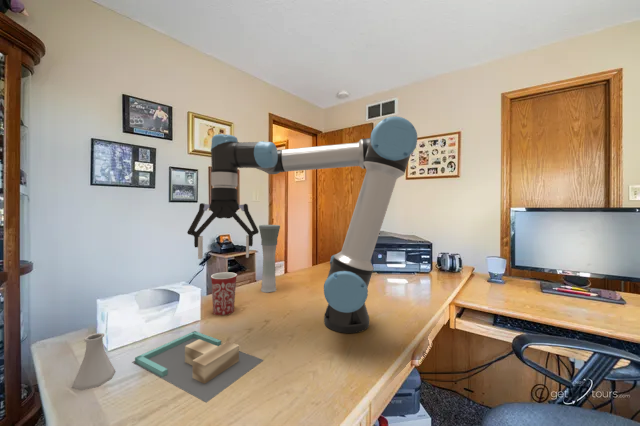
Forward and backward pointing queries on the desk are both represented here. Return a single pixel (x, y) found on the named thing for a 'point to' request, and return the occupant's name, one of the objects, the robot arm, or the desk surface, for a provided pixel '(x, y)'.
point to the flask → (94, 365)
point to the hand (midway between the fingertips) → (224, 257)
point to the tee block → (210, 358)
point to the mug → (223, 292)
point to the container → (269, 256)
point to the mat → (179, 373)
